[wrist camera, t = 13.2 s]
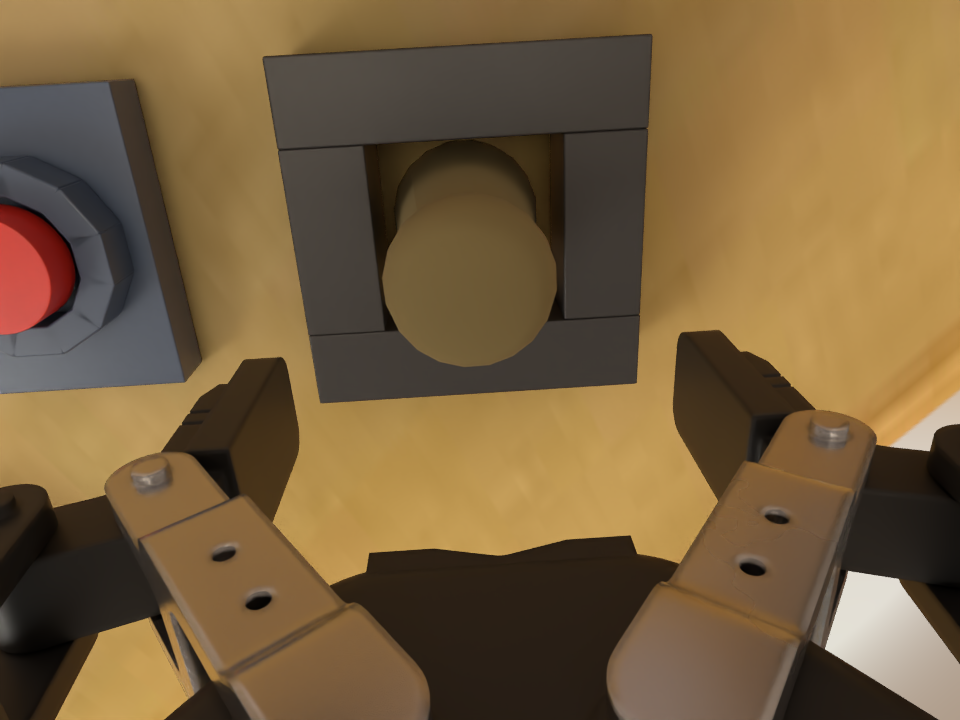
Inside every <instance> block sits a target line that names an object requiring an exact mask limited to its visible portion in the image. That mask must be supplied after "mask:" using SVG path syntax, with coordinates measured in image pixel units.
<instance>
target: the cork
mask: <svg viewBox="0 0 960 720" xmlns="http://www.w3.org/2000/svg"><path fill="white" fill-rule="evenodd" d="M394 214H395V222H396V230H397V234H396V236H395V238H394V239H393V241H392V243H391V244H390V246H389V249H388V251H387V256H386V261H385V266H384V271H383V276H382V280H383V288H384V295H385V303H386V305H387V308H388V310H389V312H390V314H391V316H392V318H393V320H394V322H395V324H396V326H397V328H398V330H399V332H400V333H401V334H402V335H403V336H404V337H405V338H406V339H407V340H408V341H409V342H410V343H411V344H412V345H413V346H414V347H415V348H416V349H417V350H418V351H420V352H422V353H424V354H426V355H428V356H429V357H431V358H433V359H435V360H437V361H439V362H442V363H447V364H452V365H456V366H461V367H472V366H485V365H491V364H494V363H496V362H499V361H501V360H504V359H507V358H509V357H512V356H514V355H515V354H516V353H518V352H519V351H520V350H522V349H523V348H524V347H525V346H527V345H528V344H529V343H531V342H532V341H533V340H534V339H535V337H536V336H537V334H538V333H539V331H540V330H541V329H542V327H543V326H544V324H545V323H546V321H547V320H548V317H549V314H550V311H551V308H552V304H553V301H554V298H555V295H556V291H557V279H556V262H555V260H554V257H553V254H552V252H551V249H550V246H549V244H548V241H547V238H546V237H545V235H544V233H543V232H542V231H541V230H540V229H539V227H538V226H537V225H536V197H535V195H534V192H533V189H532V187H531V184H530V181H529V178H528V176H527V175H526V174H525V172H524V171H523V170H522V169H521V167H520V166H519V165H518V164H517V162H516V161H515V160H514V159H513V158H512V157H510V156H509V155H507V154H506V153H504V152H503V151H501V150H500V149H498V148H497V147H495V146H493V145H489V144H485V143H481V142H477V141H473V140H466V141H453V142H447V143H444V144H442V145H440V146H437V147H435V148H433V149H430V150H428V151H426V152H425V153H424V154H423V155H422V156H421V157H420V158H419V159H417V160H416V161H415V162H414V163H413V164H412V165H411V166H410V167H409V168H408V170H407V172H406V174H405V175H404V177H403V179H402V181H401V183H400V184H399V186H398V190H397V195H396V200H395V206H394Z"/></svg>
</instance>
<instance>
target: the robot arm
mask: <svg viewBox="0 0 960 720" xmlns="http://www.w3.org/2000/svg"><path fill="white" fill-rule="evenodd" d="M673 413H674V420H675V424H676V428H677V430H678V432H679V434H680V436H681V438H682V439H683V441H684V443H685V445H686V446H687V448H688V450H689V451H690V453H691V455H692V457H693V458H694V460H695V462H696V463H697V465H698V467H699V469H700V470H701V472H702V474H703V475H704V477H705V479H706V481H707V482H708V484H709V486H710V488H711V489H712V491H713V493H714V494H715V496H716V498H717V500H718V503H717V505H716V506H715V508H714V509H713V511H712V513H711V514H710V516H709V518H708V519H707V521H706V522H705V524H704V526H703V527H702V529H701V530H700V532H699V534H698V535H697V537H696V539H695V540H694V542H693V543H692V545H691V547H690V548H689V550H688V551H687V553H686V555H685V556H684V558H683V560H682V561H681V563H680V564H678V563H675V562H672V561H668V560H665V559H661V558H657V557H652V556H647V555H640V554H637V552H636V549H635V547H634V544H633V541H632V538H631V536H616V537H601V538H586V539H571V540H564V541H560V542H556V543H552V544H548V545H544V546H540V547H536V548H532V549H528V550H524V551H520V552H516V553H512V554H508V555H502V556H495V555H485V554H477V553H468V552H459V551H450V550H441V549H422V550H407V551H392V552H377V553H369V559H368V565H367V571H366V572H365V573H362V574H358V575H355V576H352V577H350V578H347V579H344V580H341V581H339V582H337V583H335V584H332V585H330V586H329V585H328V584H327V583H326V582H325V581H324V579H323V578H322V577H321V576H320V575H319V574H318V573H317V572H316V571H315V569H314V568H313V567H312V566H311V565H310V564H309V563H308V562H307V561H306V560H305V558H304V557H303V556H302V555H301V554H300V553H299V552H298V551H297V550H296V548H295V547H294V546H293V545H292V544H291V543H290V542H289V541H288V540H287V538H286V537H285V536H284V535H283V534H282V533H281V532H280V531H279V530H278V528H277V527H276V526H275V525H274V524H273V523H272V522H273V520H274V517H275V514H276V512H277V509H278V506H279V504H280V501H281V498H282V496H283V493H284V490H285V488H286V485H287V482H288V480H289V477H290V474H291V472H292V469H293V466H294V464H295V461H296V458H297V455H298V451H299V427H298V421H297V416H296V411H295V405H294V400H293V395H292V390H291V384H290V379H289V374H288V369H287V365H286V363H285V360H284V359H283V358H282V357H277V358H261V359H246V360H244V361H243V362H242V363H241V365H240V366H239V368H238V369H237V371H236V372H235V374H234V375H233V377H232V378H231V380H230V381H229V383H228V384H219V385H218V386H216V387H215V388H213V389H212V390H210V391H209V392H207V393H206V394H204V395H203V396H201V397H200V398H199V399H198V401H197V402H196V404H195V405H194V406H193V408H192V409H191V411H190V414H188V415H187V416H186V418H185V419H184V421H183V422H182V425H180V426H179V428H178V429H177V430H176V432H175V433H174V435H173V436H172V437H171V439H170V440H169V442H168V443H167V444H166V446H165V447H164V449H163V450H162V451H161V453H156V454H152V455H147V456H144V457H141V458H139V459H136V460H134V461H131V462H129V463H127V464H126V465H124V466H122V467H121V468H119V469H118V470H116V471H115V472H114V473H113V474H112V475H111V476H110V477H109V478H108V480H107V481H106V483H105V487H104V490H105V493H106V495H104V496H100V497H97V498H93V499H89V500H85V501H81V502H76V503H72V504H68V505H64V506H60V507H56V508H53V507H52V504H51V502H50V499H49V496H48V494H47V492H46V490H45V489H44V488H42V487H40V486H37V485H32V484H20V485H12V486H7V487H2V488H0V720H55V718H56V716H57V714H58V712H59V710H60V709H61V707H62V705H63V703H64V701H65V699H66V697H67V695H68V693H69V691H70V689H71V687H72V686H73V684H74V682H75V680H76V678H77V676H78V674H79V672H80V670H81V668H82V666H83V664H84V663H85V661H86V659H87V657H88V655H89V653H90V651H91V649H92V647H93V645H94V643H95V641H96V639H97V637H98V633H99V632H102V631H106V630H109V629H112V628H116V627H119V626H122V625H126V624H129V623H132V622H136V621H139V620H142V619H146V618H148V619H149V622H150V625H151V627H152V629H153V631H154V633H155V635H156V637H157V639H158V641H159V643H160V645H161V647H162V649H163V651H164V653H165V655H166V657H167V659H168V661H169V663H170V665H171V667H172V669H173V671H174V672H175V674H176V676H177V678H178V680H179V682H180V684H181V686H182V688H183V690H184V692H185V694H186V696H187V699H188V700H187V701H186V702H184V703H183V704H182V705H181V706H180V707H179V708H177V709H176V710H175V711H174V712H173V713H172V714H170V715H169V716H168V717H167V718H166V719H164V720H938V719H936V718H935V717H933V716H932V715H930V714H928V713H927V712H925V711H924V710H922V709H920V708H919V707H917V706H916V705H914V704H912V703H911V702H909V701H907V700H906V699H904V698H902V697H901V696H899V695H898V694H896V693H894V692H893V691H891V690H890V689H888V688H886V687H885V686H883V685H882V684H880V683H878V682H877V681H875V680H874V679H872V678H870V677H869V676H867V675H866V674H864V673H862V672H861V671H859V670H857V669H856V668H854V667H853V666H851V665H849V664H848V663H846V662H844V661H843V660H841V659H840V658H838V657H836V656H835V655H833V654H832V653H830V652H828V651H827V650H825V647H826V643H827V640H828V637H829V634H830V630H831V627H832V624H833V621H834V617H835V614H836V611H837V608H838V604H839V601H840V598H841V595H842V591H843V588H844V585H845V582H846V578H847V574H848V571H853V572H859V573H865V574H872V575H878V576H885V577H891V578H898V579H899V580H900V583H901V585H902V586H903V588H904V589H905V590H906V592H907V593H908V595H909V596H910V597H911V599H912V600H913V601H914V603H915V604H916V605H917V607H918V608H919V609H920V611H921V612H922V613H923V615H924V616H925V618H926V619H927V620H928V622H929V623H930V624H931V626H932V627H933V628H934V630H935V631H936V632H937V634H938V635H939V637H940V638H941V639H942V641H943V642H944V643H945V645H946V646H947V647H948V649H949V650H950V651H951V653H952V654H953V655H954V657H955V658H956V659H957V661H958V662H959V664H960V424H957V425H949V426H945V427H942V428H940V429H938V430H937V431H936V432H935V434H934V438H933V441H932V445H931V449H930V451H922V450H912V449H903V448H894V447H886V446H880V445H876V441H877V437H876V434H875V433H874V431H873V430H872V429H871V428H870V427H869V426H867V425H866V424H865V423H863V422H861V421H859V420H857V419H855V418H853V417H850V416H847V415H844V414H840V413H837V412H831V411H824V410H816V409H815V408H814V407H813V406H812V405H811V404H810V403H809V402H808V401H807V400H806V399H805V398H804V397H803V396H802V395H801V394H800V393H799V392H798V391H797V390H796V389H795V388H794V387H791V384H790V383H789V382H788V381H787V380H786V379H785V378H784V377H783V376H782V377H781V374H780V373H779V372H778V371H777V370H776V369H775V368H774V367H773V366H772V365H771V364H770V363H769V362H768V361H766V360H764V359H762V358H760V357H758V356H756V355H754V354H752V353H749V352H747V351H746V352H740V351H739V350H738V349H737V348H736V347H735V346H734V345H733V344H732V343H731V342H730V340H729V339H728V338H727V337H726V336H725V335H724V334H723V333H722V332H721V331H720V330H712V331H696V332H682V333H681V334H680V336H679V339H678V343H677V355H676V368H675V382H674V396H673Z"/></svg>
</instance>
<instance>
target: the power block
mask: <svg viewBox="0 0 960 720" xmlns="http://www.w3.org/2000/svg"><path fill="white" fill-rule="evenodd" d="M0 204H5V205H11V206H15V207H19V208H22V209H24V210H27V211H29V212H31V213H33V214H35V215H37V216H38V217H40V218H41V219H43V220H44V221H45V222H47V223H48V224H49V225H50V226H51V227H52V228H53V229H54V230H55V231H56V232H57V233H58V234H59V235H60V236H61V238H62V239H63V241H64V242H65V244H66V245H67V247H68V249H69V251H70V253H71V256H72V258H73V262H74V266H75V284H74V288H73V291H72V294H71V296H70V297H69V299H68V301H67V302H66V303H65V304H64V305H63V306H62V307H61V308H60V309H59V310H57V311H56V312H54V313H53V314H51V315H50V316H48V317H47V318H45V319H44V320H42V321H41V322H39V323H38V324H36V325H34V326H33V327H31V328H30V329H28V330H25V331H23V332H19V333H15V334H8V335H0V394H7V393H23V392H38V391H54V390H70V389H86V388H102V387H118V386H134V385H150V384H166V383H182V382H186V381H187V379H188V378H189V377H190V376H191V374H192V373H193V372H194V371H195V369H196V368H197V367H198V366H199V364H200V363H201V362H202V360H201V356H200V352H199V348H198V343H197V339H196V335H195V331H194V327H193V323H192V318H191V314H190V310H189V306H188V302H187V298H186V294H185V289H184V285H183V281H182V277H181V273H180V269H179V265H178V260H177V256H176V252H175V248H174V244H173V240H172V235H171V231H170V227H169V223H168V219H167V215H166V211H165V206H164V202H163V198H162V194H161V190H160V186H159V182H158V177H157V173H156V169H155V165H154V161H153V157H152V152H151V148H150V144H149V140H148V136H147V132H146V128H145V123H144V119H143V115H142V111H141V107H140V103H139V99H138V94H137V90H136V86H135V82H134V79H121V80H104V81H87V82H70V83H53V84H36V85H18V86H1V87H0Z"/></svg>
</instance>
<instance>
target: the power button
mask: <svg viewBox="0 0 960 720" xmlns="http://www.w3.org/2000/svg"><path fill="white" fill-rule="evenodd" d="M74 284H75V266H74V262H73V258H72V256H71V253H70V251H69V249H68V247H67V245H66V244H65V242H64V241H63V239H62V238H61V236H60V235H59V234H58V233H57V232H56V231H55V230H54V229H53V228H52V227H51V226H50V225H49V224H48V223H47V222H45V221H44V220H43V219H41V218H40V217H38V216H37V215H35V214H33V213H31V212H29V211H27V210H24V209H22V208H19V207H15V206H11V205H5V204H0V335H8V334H15V333H19V332H23V331H25V330H28V329H30V328H31V327H33V326H34V325H36V324H38V323H39V322H41V321H42V320H44V319H45V318H47V317H48V316H50V315H51V314H53V313H54V312H56V311H57V310H59V309H60V308H61V307H62V306H63V305H64V304H65V303H66V302H67V301H68V299H69V297H70V296H71V294H72V291H73V288H74Z"/></svg>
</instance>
